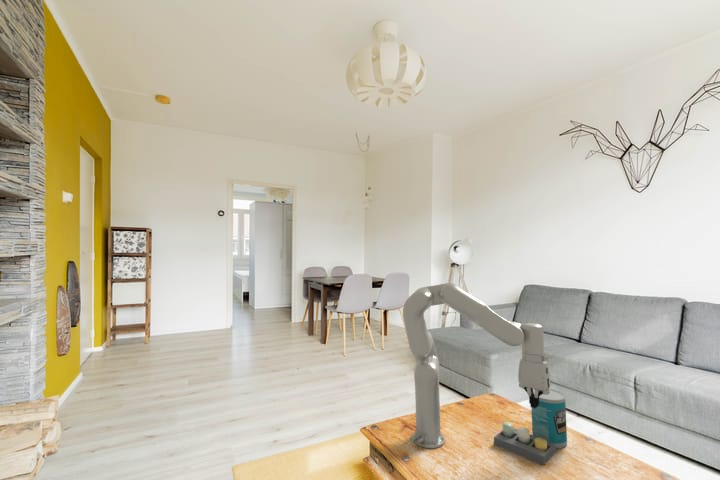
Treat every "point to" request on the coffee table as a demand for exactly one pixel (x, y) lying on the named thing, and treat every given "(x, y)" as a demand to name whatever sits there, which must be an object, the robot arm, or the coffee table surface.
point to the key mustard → (541, 444)
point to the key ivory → (523, 435)
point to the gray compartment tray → (525, 447)
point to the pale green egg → (508, 429)
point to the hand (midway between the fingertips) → (534, 406)
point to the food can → (550, 418)
